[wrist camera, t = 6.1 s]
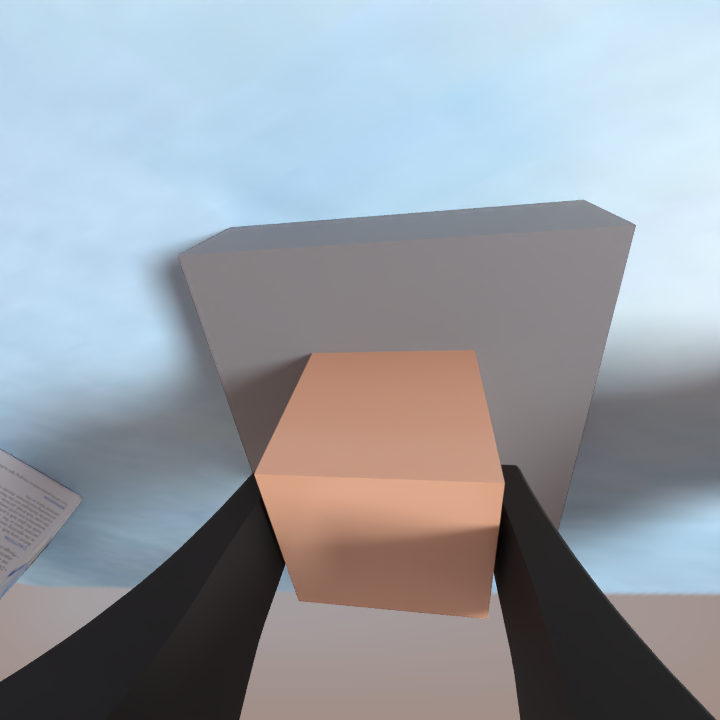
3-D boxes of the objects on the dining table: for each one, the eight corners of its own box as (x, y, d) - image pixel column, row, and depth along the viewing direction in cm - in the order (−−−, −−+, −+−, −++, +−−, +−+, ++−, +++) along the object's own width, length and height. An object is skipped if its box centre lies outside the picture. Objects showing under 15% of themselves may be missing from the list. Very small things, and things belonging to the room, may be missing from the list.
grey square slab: (578, 197, 12) (635, 224, 9) (532, 463, 19) (555, 539, 15) (235, 224, 15) (177, 255, 11) (294, 455, 21) (269, 520, 17)
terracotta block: (475, 349, 11) (504, 483, 7) (468, 469, 14) (487, 619, 10) (312, 353, 12) (254, 474, 8) (334, 464, 15) (299, 600, 11)
